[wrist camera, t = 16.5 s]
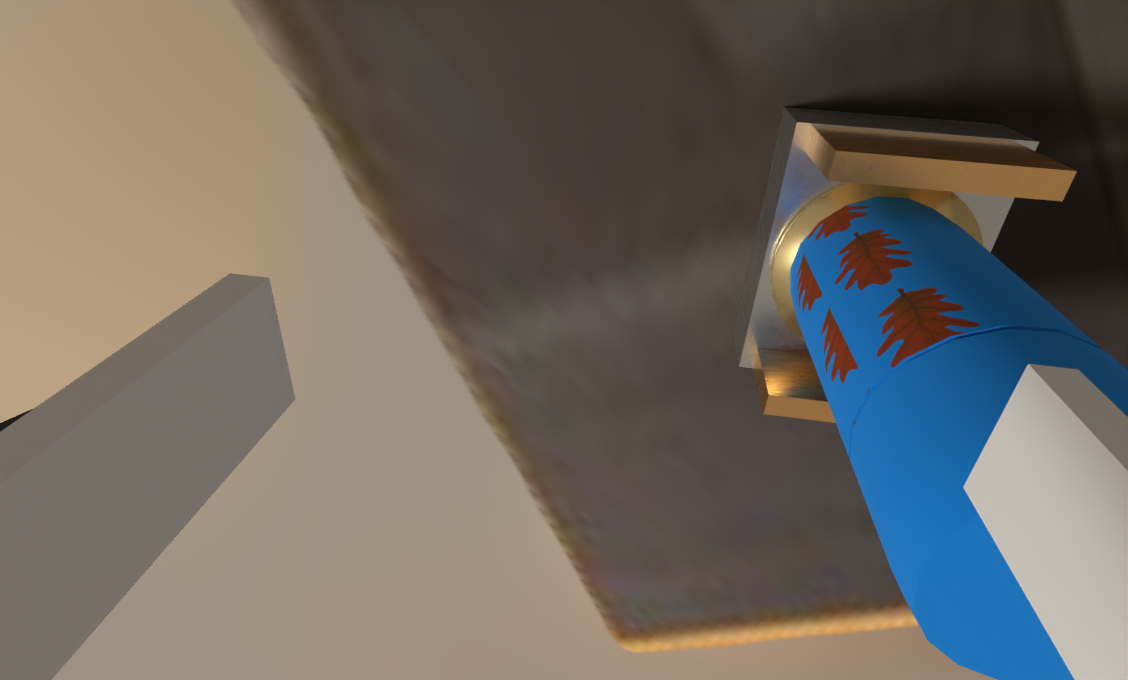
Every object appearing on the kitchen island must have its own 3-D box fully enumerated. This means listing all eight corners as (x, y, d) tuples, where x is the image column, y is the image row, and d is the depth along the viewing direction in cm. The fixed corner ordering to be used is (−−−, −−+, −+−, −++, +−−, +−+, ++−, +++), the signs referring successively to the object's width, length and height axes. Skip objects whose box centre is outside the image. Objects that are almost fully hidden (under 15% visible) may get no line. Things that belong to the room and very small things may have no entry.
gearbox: (733, 333, 51) (747, 414, 42) (783, 107, 42) (817, 145, 33) (907, 353, 50) (963, 441, 41) (1000, 124, 41) (1099, 168, 31)
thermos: (979, 306, 41) (1311, 661, 20) (818, 363, 45) (953, 711, 24) (936, 162, 37) (1297, 414, 16) (762, 238, 41) (866, 523, 20)
